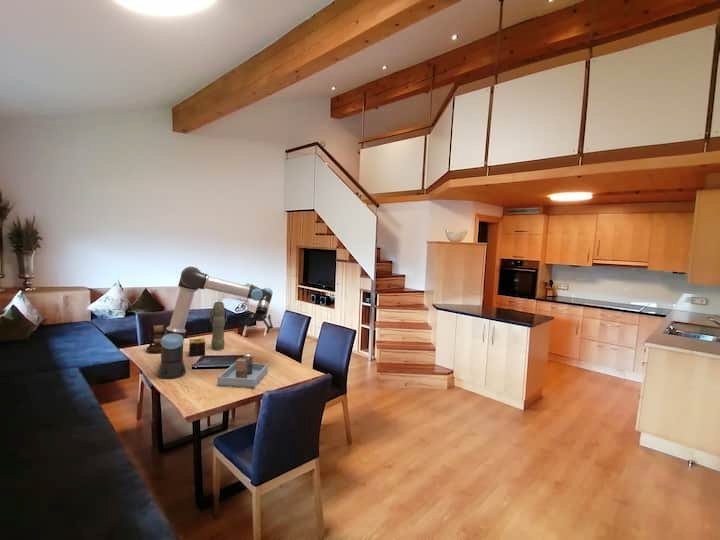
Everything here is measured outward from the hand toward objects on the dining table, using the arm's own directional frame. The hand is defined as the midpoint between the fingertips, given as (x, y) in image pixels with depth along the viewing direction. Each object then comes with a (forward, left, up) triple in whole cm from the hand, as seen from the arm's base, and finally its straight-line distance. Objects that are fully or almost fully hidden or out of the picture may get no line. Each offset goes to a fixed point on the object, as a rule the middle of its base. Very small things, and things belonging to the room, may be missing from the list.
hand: (254, 336), depth 233 cm
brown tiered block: (-43, +68, -22) cm, 83 cm away
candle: (-22, +48, -22) cm, 57 cm away
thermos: (-6, +54, -22) cm, 58 cm away
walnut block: (-13, -14, -21) cm, 28 cm away
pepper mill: (-6, -7, -21) cm, 23 cm away
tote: (-10, -11, -22) cm, 27 cm away
